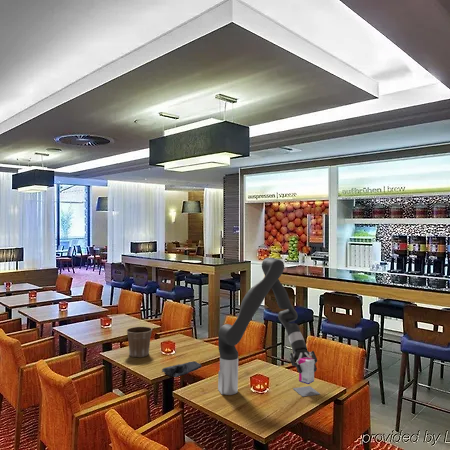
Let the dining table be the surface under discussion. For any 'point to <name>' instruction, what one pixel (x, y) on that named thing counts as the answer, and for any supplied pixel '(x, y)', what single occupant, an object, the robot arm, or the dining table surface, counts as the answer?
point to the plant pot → (139, 341)
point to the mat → (306, 391)
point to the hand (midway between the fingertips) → (308, 372)
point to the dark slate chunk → (181, 369)
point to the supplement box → (306, 370)
